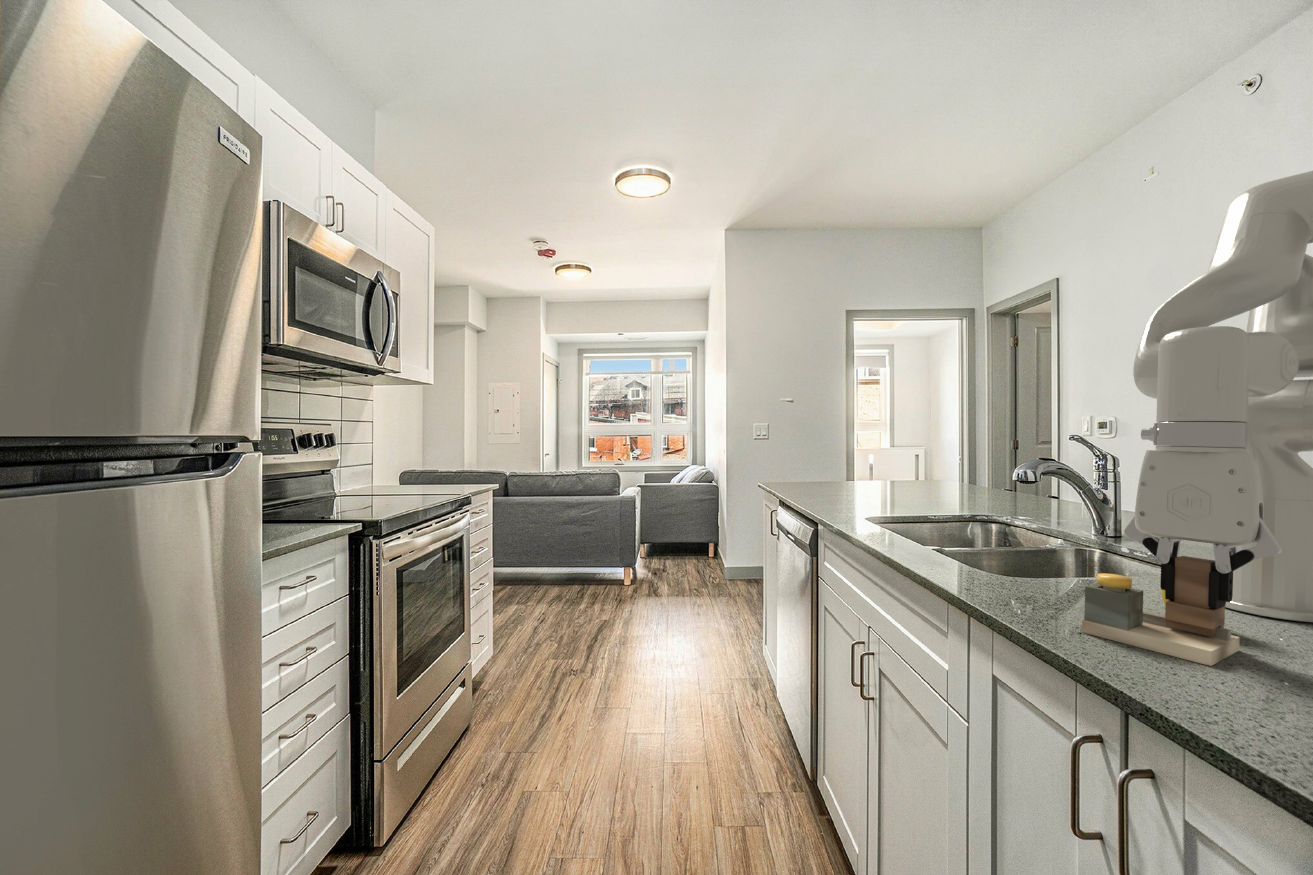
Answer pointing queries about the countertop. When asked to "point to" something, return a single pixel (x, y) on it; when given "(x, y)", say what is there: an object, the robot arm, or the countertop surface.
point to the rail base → (1149, 627)
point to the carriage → (1193, 598)
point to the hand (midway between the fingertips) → (1195, 600)
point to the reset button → (1114, 582)
